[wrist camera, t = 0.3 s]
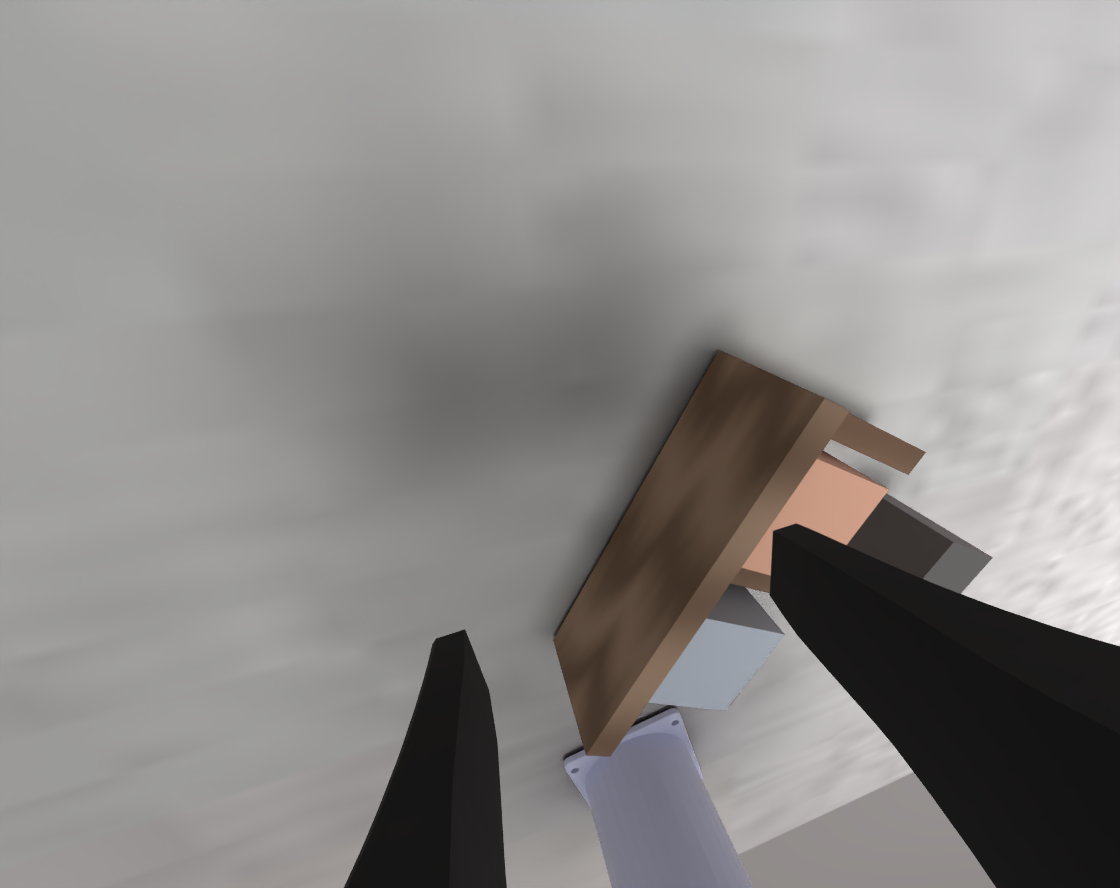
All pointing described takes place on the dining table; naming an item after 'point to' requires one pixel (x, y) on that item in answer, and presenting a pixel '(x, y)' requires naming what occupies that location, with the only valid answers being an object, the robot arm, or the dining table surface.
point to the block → (721, 654)
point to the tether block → (872, 527)
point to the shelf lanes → (696, 535)
